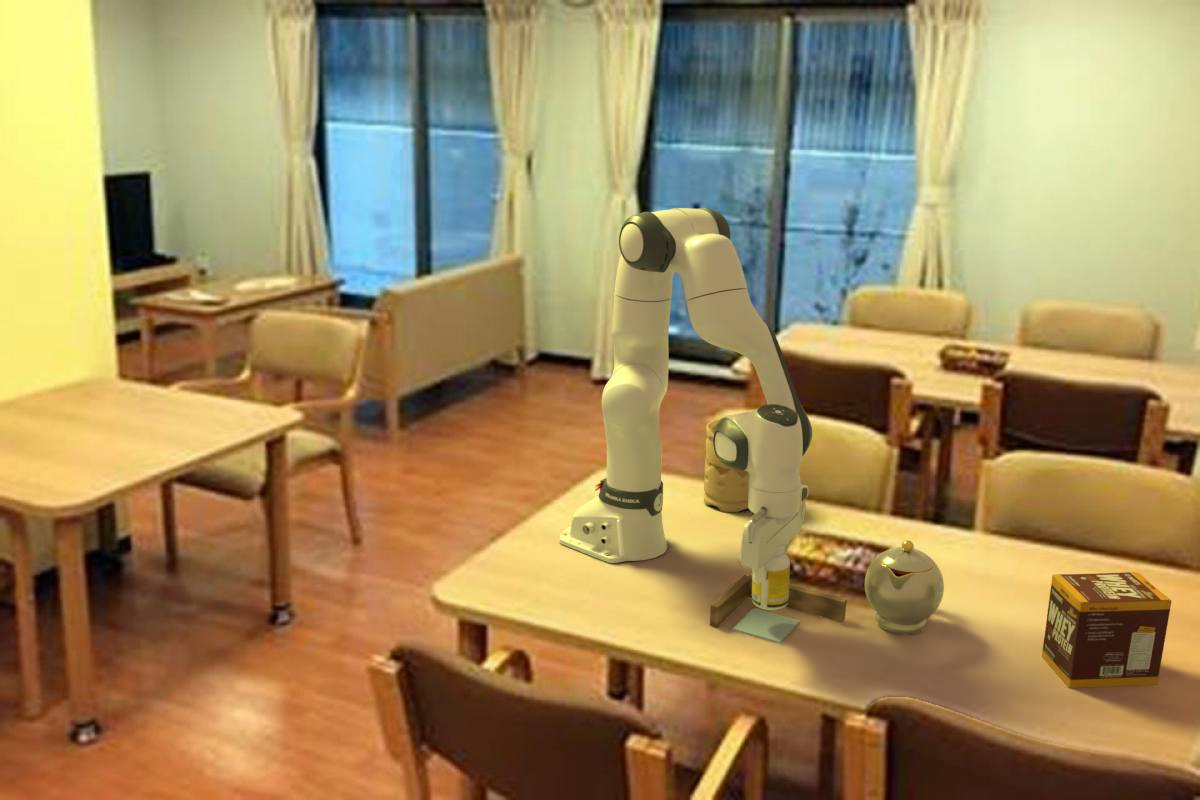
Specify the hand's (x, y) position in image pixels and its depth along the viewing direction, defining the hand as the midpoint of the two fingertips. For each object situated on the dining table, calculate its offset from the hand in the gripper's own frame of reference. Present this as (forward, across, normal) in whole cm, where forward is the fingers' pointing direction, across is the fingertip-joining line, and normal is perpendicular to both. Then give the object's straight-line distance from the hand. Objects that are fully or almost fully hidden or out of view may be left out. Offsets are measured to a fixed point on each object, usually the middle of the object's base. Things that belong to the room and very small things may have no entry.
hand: (770, 572), depth 207 cm
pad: (+11, 0, 0) cm, 11 cm away
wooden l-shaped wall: (+11, +2, -1) cm, 11 cm away
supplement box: (+12, +15, -53) cm, 56 cm away
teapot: (+11, +15, -20) cm, 27 cm away
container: (+11, +50, +30) cm, 59 cm away
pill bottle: (+6, 0, 0) cm, 6 cm away
